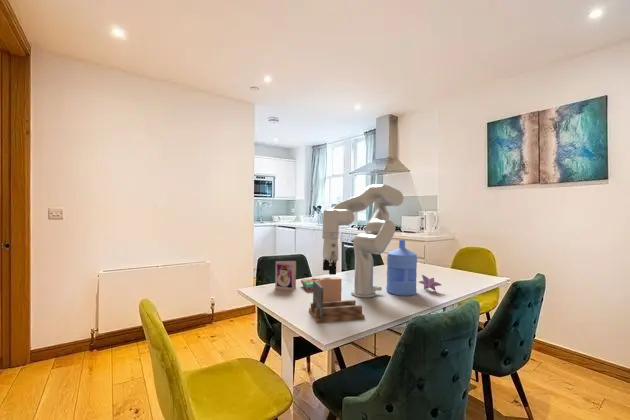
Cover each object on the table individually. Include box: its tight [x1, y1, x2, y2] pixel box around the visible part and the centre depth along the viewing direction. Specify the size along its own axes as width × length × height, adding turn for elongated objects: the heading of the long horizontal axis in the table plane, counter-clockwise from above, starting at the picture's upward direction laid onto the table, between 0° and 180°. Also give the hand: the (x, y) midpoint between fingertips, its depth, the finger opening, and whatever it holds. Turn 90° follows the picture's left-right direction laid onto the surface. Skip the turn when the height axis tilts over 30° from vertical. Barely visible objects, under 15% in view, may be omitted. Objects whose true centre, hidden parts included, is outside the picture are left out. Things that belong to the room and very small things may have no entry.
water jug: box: [385, 239, 418, 297], centre depth 168 cm, size 16×16×28 cm
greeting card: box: [274, 260, 297, 292], centre depth 173 cm, size 11×7×15 cm, turn 68°
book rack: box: [308, 281, 366, 324], centre depth 131 cm, size 20×14×14 cm
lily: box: [418, 274, 442, 293], centre depth 170 cm, size 11×11×9 cm
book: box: [318, 276, 343, 302], centre depth 146 cm, size 10×4×12 cm, turn 105°
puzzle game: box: [300, 277, 319, 292], centre depth 176 cm, size 12×5×20 cm
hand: (329, 272), depth 146 cm, fingers open, 9 cm apart
